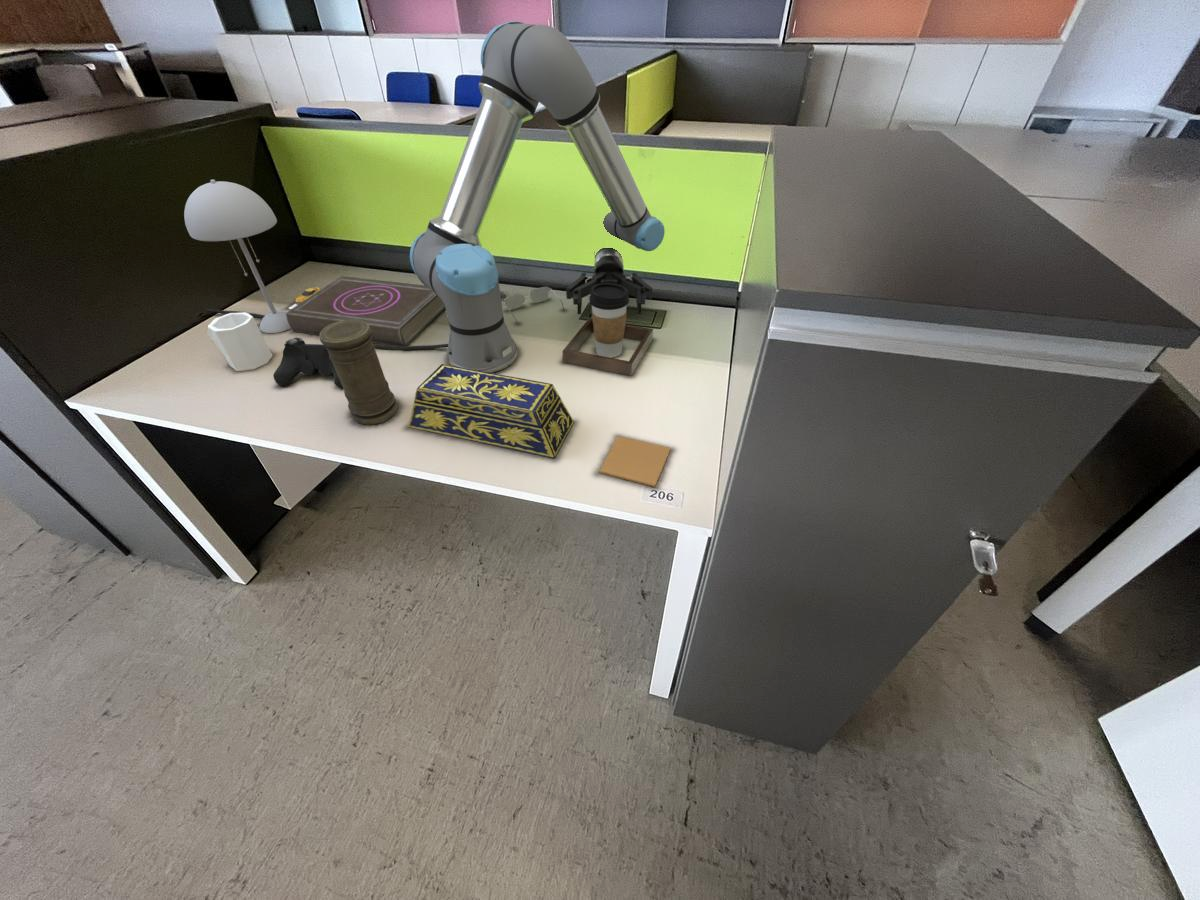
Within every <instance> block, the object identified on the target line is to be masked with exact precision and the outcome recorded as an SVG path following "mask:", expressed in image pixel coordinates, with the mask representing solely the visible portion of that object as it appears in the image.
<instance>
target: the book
mask: <svg viewBox="0 0 1200 900" xmlns="http://www.w3.org/2000/svg"><path fill="white" fill-rule="evenodd" d="M320 289H321V290H320V291H318V292H317V293H315V294H314V295H312V296H311V297H309V298H308V299H306V300H305V301H303V302H302V303H300V304H299V305H297V306H296V307H294V308H293V309H289V310H288V311H287V313H286V317H287V321H288V323H289V325H290V327H291V330H292V331H293V332H294V333H302V334H309V335H314V336H315V335H316V334H314V333H316V332H317V333H320V332H321V331H322V330H323V329H324V328H325V327H327V326H328V325H330V324H333V323H335V322H339V321H343V320H362V321H364V322H366V323H367V324H368V325H369V326H370V328H371V340H372V343H373V344H378V345H389V346H409V344H410V343H411V342H412V341H413V340H414V339H415V338H416V337H417V336H418V335H419V334H420V333H421V332H423V330H424V329H425V328H426V327H428V326H429V325H430V324H431V323H432V322H433V321H434V319H436V318H437V317H438V316H439V315H440V314H442V312H443V311H444V310H446V308H445V304H444V302H443V300H442V299H441V298H439V297H438V296H437V295H436V294H435V293H434V292H433V291H432V290H430V289H429V288H428V287H426V286H425V285H424V284H417V283H409V282H400V281H393V280H392V281H390V280H382V279H373V278H366V277H365V278H364V277H358V276H357V277H356V276H346V275H341V276H339V277H338V278H336V279H334V280H333V281H331V282H330V283H329V284H326V285H325V286H324V287H322V288H320Z"/></svg>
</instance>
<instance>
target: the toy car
mask: <svg viewBox="0 0 1200 900" xmlns="http://www.w3.org/2000/svg"><path fill="white" fill-rule="evenodd" d="M321 289H322V288H320V287H318V286H316V287H308V288H307V289H305V290H304V291H301V294H300V295H299V296H297V297H296V298H294V304H292V305H291V306H289V307H287V309H289V310H291V309H293V308H294V307H296V306H297V305H299V304H300V303H302V302H303V301H305V300H306V299H308V298H309V297H311V296H312V295H314V294H315V293H317V292H318V291H320V290H321Z"/></svg>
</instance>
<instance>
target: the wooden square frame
mask: <svg viewBox="0 0 1200 900" xmlns="http://www.w3.org/2000/svg"><path fill="white" fill-rule="evenodd" d="M592 332H593V333H594V328H593V320H592V317H589V318H587V320H586V321H585V322H584V323H583V325H582V326H581V327H580V328H579V330H578V331H577V332H576V333H575V335H573V337H572V338H571V339H570V341H569V342H568V343H567V345H565V347H564V348H563V350H562V362H563V363H564V364H565V363H566V364H568V365H569V364H570V365H575V366H580V367H585V368H590V369H595V370H598V371H599V370H600V371H604V372H609V373H613V374H619V375H624V376H630V377H632V376H633V374H634V372H635V370H636V369H637V367H638V366H639V364H640V362H641V360H642V359H643V357H644V355H645V354H646V352H647V350H648V348H649V347H650V345H651V343H652V342H653V337H654V329H653V328H650V327H644V326H640V325H639V326H638V325H634V324H633V325H632V324H627V323H625V330H624V338H626V339H632V340H637V341H639V343H638V345H637V347H636V349H635V350H634V352H633V354H632V355H631V356H630V358H629V360H625V359H619V358H615V357H612V358H610V357H604V356H600V355H598V354H594V353H589V352H585V351H579V349H580V347H581V345H583V343H584V342H585V341H586V339H587V338H588V337H589V336H590V334H591V333H592Z"/></svg>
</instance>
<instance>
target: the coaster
mask: <svg viewBox="0 0 1200 900" xmlns="http://www.w3.org/2000/svg"><path fill="white" fill-rule="evenodd" d="M670 452H671V447H668V446H664V445H659V444H656V443H651V442H646V441H643V440H638V439H635V438H630V437H626V436H622V435H617V437H616V439H615V441H614V442H613V444H612V446H611V449H610V450H609V452H608V454H607V455H606V458H605V459H604V461H603V463H602V465H601V466H600V468H599V470H598V473H599V474H601V475H606V476H610V477H614V478H617V479H621V480H624V481H629V482H632V483H637V484H641V485H645V486H648V487H651V488H656V486H657V484H658V481H659V479H660V477H661V474H662V471H663V469H664V466H665V464H666V462H667V459H668V457H669V454H670Z"/></svg>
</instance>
